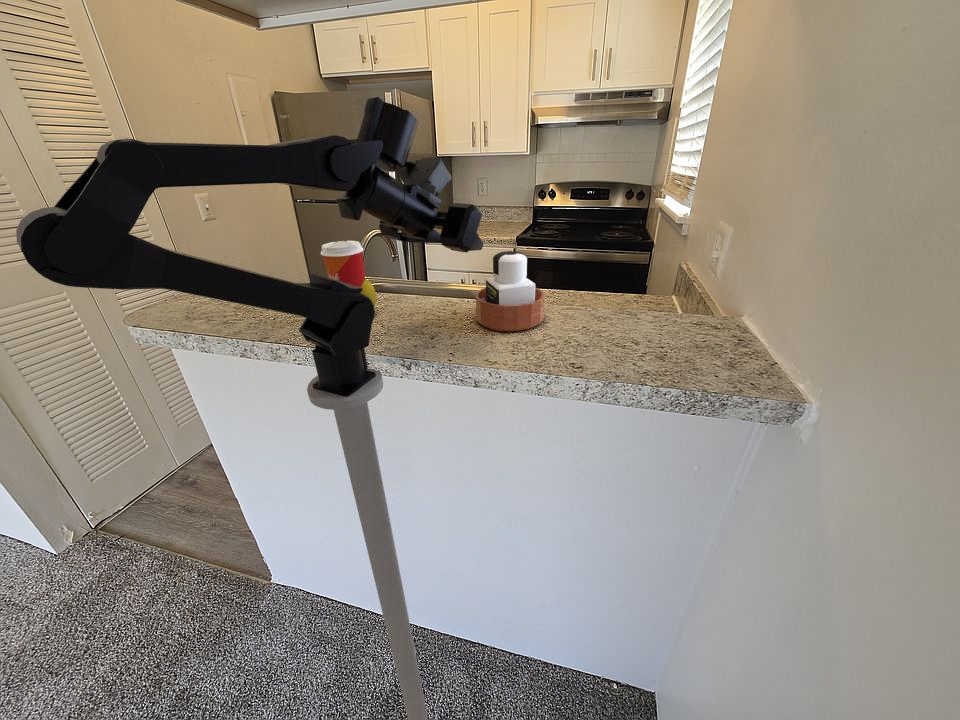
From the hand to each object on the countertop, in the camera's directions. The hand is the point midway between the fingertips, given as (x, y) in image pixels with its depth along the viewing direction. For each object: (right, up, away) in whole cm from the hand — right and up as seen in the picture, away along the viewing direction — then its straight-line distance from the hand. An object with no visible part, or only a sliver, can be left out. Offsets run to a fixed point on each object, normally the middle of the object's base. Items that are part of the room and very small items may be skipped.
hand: (461, 243), depth 67 cm
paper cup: (-22, -4, +10) cm, 25 cm away
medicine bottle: (+9, -12, +9) cm, 17 cm away
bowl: (+9, -12, +9) cm, 17 cm away
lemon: (-20, -11, +14) cm, 26 cm away
